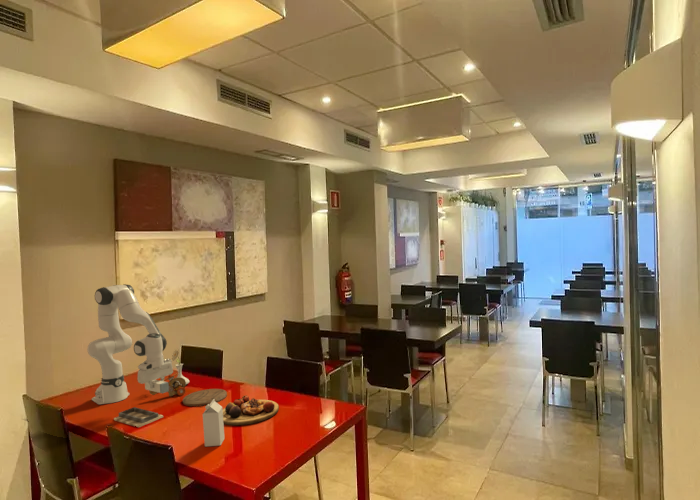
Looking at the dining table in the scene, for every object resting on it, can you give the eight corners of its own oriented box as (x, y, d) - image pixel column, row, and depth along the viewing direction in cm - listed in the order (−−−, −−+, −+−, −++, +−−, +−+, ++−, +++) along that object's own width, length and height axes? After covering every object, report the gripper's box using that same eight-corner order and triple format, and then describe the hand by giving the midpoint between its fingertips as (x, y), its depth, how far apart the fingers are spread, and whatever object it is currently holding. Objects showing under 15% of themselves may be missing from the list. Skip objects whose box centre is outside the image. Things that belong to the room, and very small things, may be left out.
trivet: (233, 391, 268) (233, 388, 268) (216, 406, 243) (216, 403, 243) (194, 392, 270) (194, 389, 270) (174, 407, 245) (174, 404, 245)
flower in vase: (172, 384, 289) (169, 347, 289) (190, 381, 293) (187, 345, 292) (170, 390, 277) (167, 351, 276) (189, 387, 280) (186, 349, 280)
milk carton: (224, 438, 200) (221, 398, 200) (220, 445, 193) (217, 403, 192) (209, 439, 200) (206, 399, 199) (204, 447, 192) (201, 405, 192)
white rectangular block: (145, 389, 247) (144, 380, 247) (151, 387, 251) (151, 378, 251) (162, 393, 239) (162, 384, 239) (168, 391, 242) (168, 382, 242)
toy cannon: (187, 394, 266) (186, 372, 266) (151, 402, 255) (149, 379, 255) (184, 390, 273) (183, 369, 273) (149, 399, 262) (147, 376, 262)
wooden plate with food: (291, 408, 233) (290, 393, 233) (246, 430, 207) (245, 413, 207) (250, 400, 251) (249, 386, 251) (204, 420, 225) (203, 404, 225)
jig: (113, 420, 232) (113, 414, 231) (138, 410, 243) (138, 405, 243) (138, 427, 219) (138, 421, 219) (163, 417, 231) (162, 411, 231)
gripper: (168, 357, 255) (169, 380, 255) (135, 366, 238) (136, 391, 238) (174, 358, 252) (176, 381, 252) (141, 368, 234) (143, 393, 235)
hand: (156, 386), depth 245 cm, fingers closed on white rectangular block, 4 cm apart
